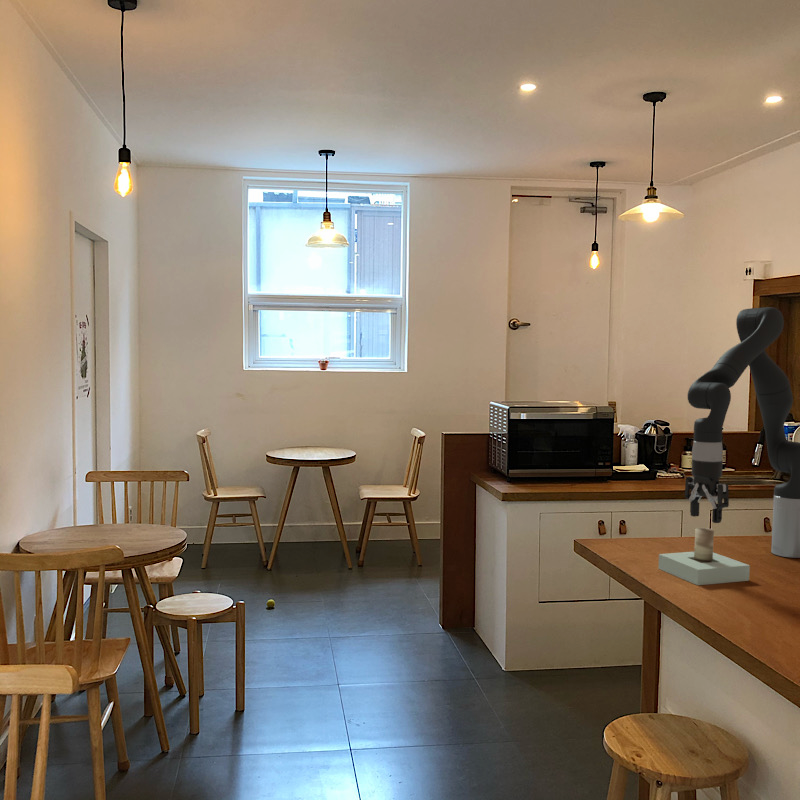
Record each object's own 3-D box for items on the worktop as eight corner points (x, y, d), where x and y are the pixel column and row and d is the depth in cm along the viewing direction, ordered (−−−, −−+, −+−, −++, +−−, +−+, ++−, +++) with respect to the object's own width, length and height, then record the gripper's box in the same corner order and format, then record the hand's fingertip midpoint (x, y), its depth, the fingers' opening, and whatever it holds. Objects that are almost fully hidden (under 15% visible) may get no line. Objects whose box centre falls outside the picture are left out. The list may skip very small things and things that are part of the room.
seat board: (707, 564, 225) (707, 550, 224) (749, 580, 209) (749, 565, 209) (658, 568, 220) (658, 554, 219) (697, 585, 204) (698, 569, 204)
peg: (704, 571, 217) (705, 527, 217) (716, 576, 213) (717, 531, 212) (689, 572, 216) (691, 528, 215) (701, 577, 212) (703, 532, 211)
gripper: (738, 461, 207) (736, 524, 208) (701, 454, 220) (699, 513, 222) (713, 462, 205) (712, 526, 206) (677, 455, 218) (676, 514, 219)
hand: (705, 519), depth 214 cm, fingers open, 8 cm apart
